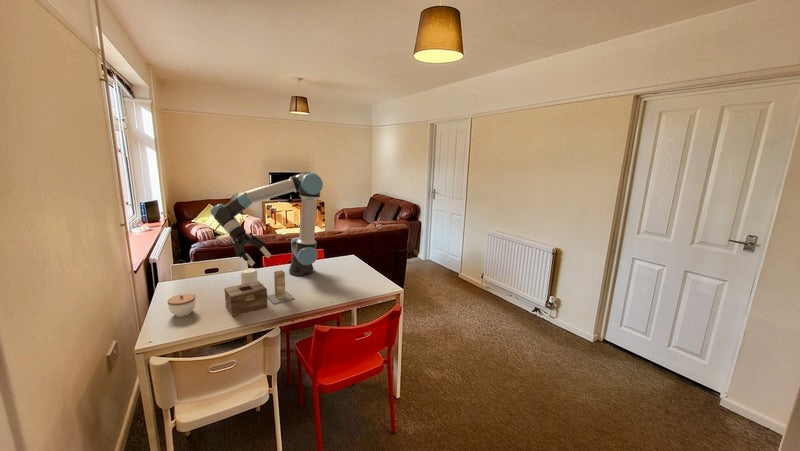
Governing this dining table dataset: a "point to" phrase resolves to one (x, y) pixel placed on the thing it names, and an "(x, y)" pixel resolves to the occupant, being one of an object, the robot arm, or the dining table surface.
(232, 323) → the dining table surface
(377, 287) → the dining table surface
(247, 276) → the tan half-round slab
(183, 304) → the lidded jar
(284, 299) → the mat
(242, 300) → the brown square frame
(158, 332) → the dining table surface
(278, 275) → the wooden block
